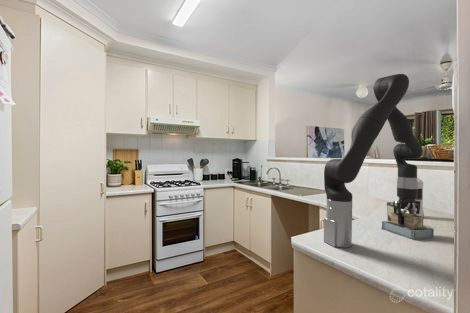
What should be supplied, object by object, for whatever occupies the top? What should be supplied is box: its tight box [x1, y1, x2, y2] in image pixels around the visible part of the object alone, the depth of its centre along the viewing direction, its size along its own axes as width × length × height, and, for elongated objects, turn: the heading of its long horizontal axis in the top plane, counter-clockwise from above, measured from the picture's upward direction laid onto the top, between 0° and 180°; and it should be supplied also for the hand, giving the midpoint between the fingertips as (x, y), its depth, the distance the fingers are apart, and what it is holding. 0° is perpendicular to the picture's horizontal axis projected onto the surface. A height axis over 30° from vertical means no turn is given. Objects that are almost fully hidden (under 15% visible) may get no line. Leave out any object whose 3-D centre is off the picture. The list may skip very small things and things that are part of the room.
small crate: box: [391, 212, 425, 229], centre depth 102 cm, size 6×10×5 cm, turn 16°
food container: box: [386, 201, 402, 221], centre depth 118 cm, size 12×6×10 cm, turn 168°
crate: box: [381, 220, 435, 241], centre depth 102 cm, size 12×15×4 cm
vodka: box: [405, 177, 425, 218], centre depth 133 cm, size 9×9×30 cm
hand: (406, 223), depth 102 cm, fingers closed on small crate, 6 cm apart
